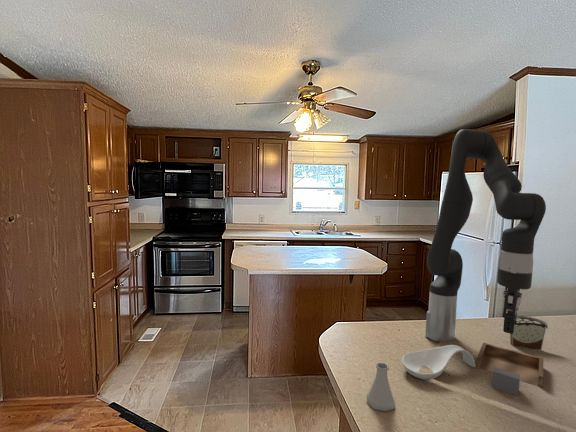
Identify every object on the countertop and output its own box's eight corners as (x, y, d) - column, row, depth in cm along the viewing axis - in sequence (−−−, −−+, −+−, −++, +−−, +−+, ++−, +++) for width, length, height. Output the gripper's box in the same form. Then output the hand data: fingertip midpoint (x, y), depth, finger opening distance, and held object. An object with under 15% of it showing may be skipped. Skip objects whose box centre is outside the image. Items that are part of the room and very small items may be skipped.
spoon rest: (418, 389, 90) (419, 364, 90) (393, 366, 101) (394, 344, 101) (485, 376, 97) (487, 353, 96) (454, 357, 108) (456, 336, 108)
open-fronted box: (475, 370, 100) (476, 357, 100) (482, 353, 110) (483, 342, 110) (542, 390, 90) (543, 377, 90) (542, 370, 100) (543, 358, 100)
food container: (534, 342, 119) (536, 315, 119) (545, 350, 113) (548, 322, 112) (498, 340, 121) (500, 313, 120) (508, 348, 115) (510, 320, 114)
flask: (362, 394, 87) (363, 358, 86) (388, 393, 88) (390, 357, 87) (371, 412, 80) (373, 373, 79) (400, 411, 81) (402, 372, 80)
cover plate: (476, 394, 89) (478, 373, 88) (482, 377, 97) (483, 357, 97) (531, 414, 81) (533, 391, 81) (532, 393, 90) (534, 372, 89)
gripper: (501, 261, 94) (496, 315, 96) (494, 270, 83) (489, 332, 85) (533, 266, 90) (528, 323, 91) (531, 276, 79) (525, 341, 80)
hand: (509, 327), depth 88 cm, fingers open, 8 cm apart
